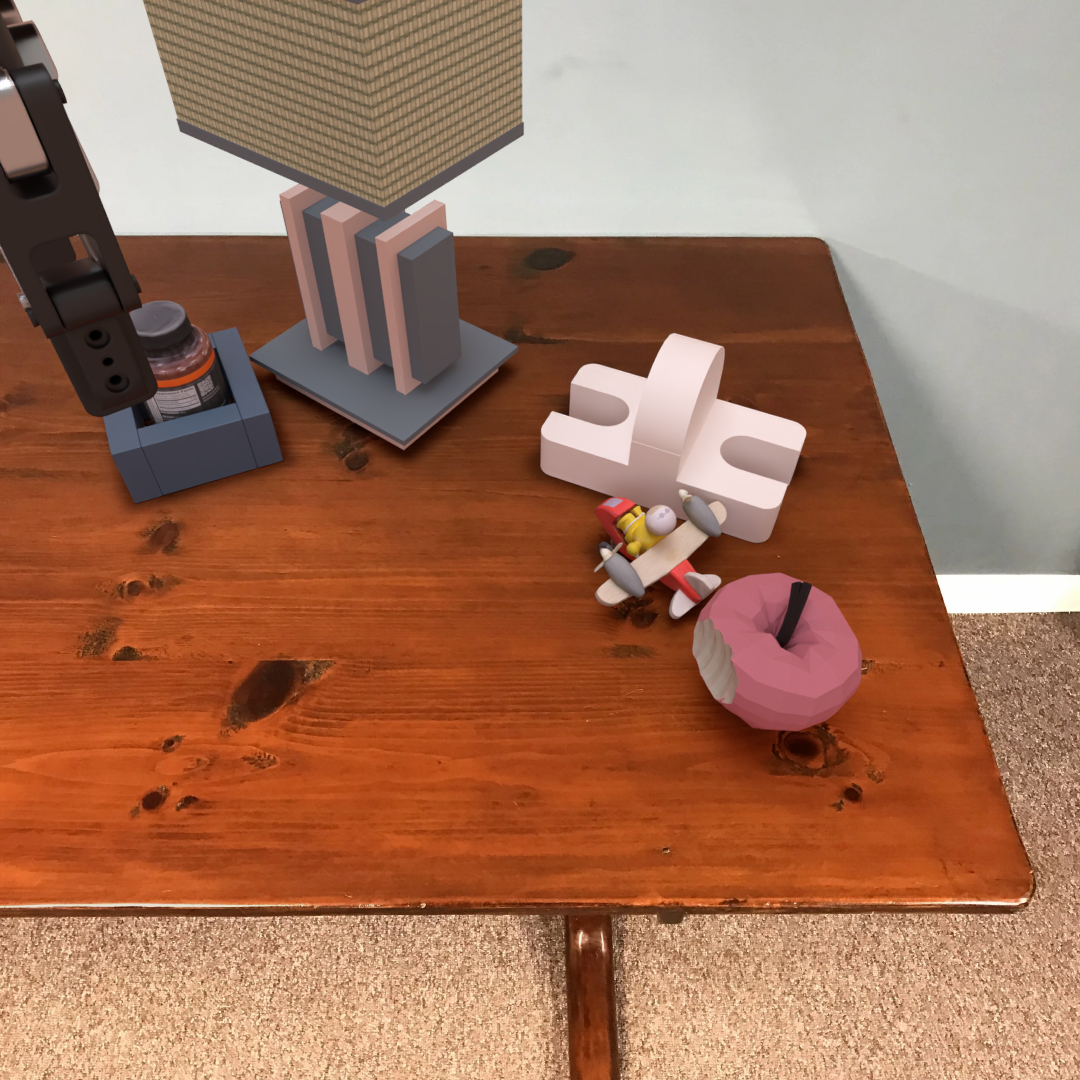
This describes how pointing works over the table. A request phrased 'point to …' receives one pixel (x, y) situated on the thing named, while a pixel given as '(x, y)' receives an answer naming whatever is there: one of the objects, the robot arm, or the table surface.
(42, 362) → the table surface
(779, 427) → the slotted arch bracket
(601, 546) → the toy airplane
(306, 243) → the desk lamp
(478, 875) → the table surface
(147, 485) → the stand
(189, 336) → the supplement bottle
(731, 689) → the apple
